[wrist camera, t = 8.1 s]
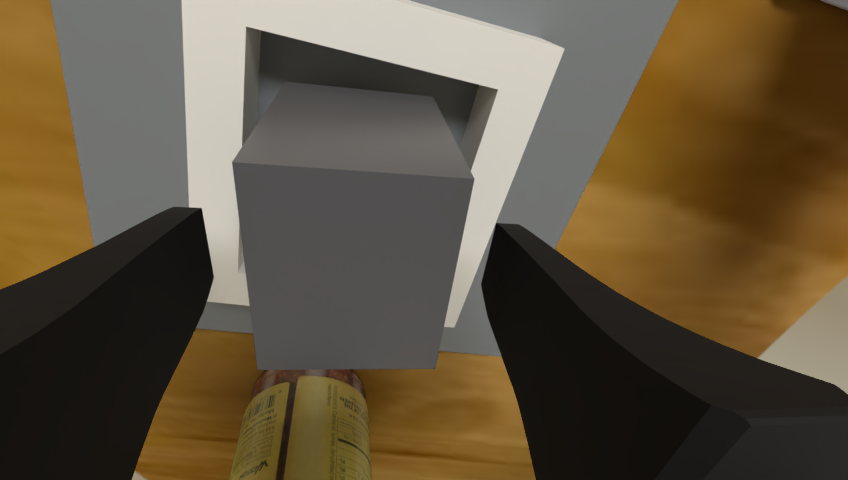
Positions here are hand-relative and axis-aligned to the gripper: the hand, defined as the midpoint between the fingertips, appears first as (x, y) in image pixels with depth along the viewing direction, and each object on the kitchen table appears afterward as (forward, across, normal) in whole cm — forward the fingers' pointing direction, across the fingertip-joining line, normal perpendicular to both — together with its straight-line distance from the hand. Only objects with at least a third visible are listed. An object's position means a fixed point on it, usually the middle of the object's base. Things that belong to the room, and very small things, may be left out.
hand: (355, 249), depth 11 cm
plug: (+6, 0, 0) cm, 6 cm away
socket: (+7, 0, 0) cm, 7 cm away
